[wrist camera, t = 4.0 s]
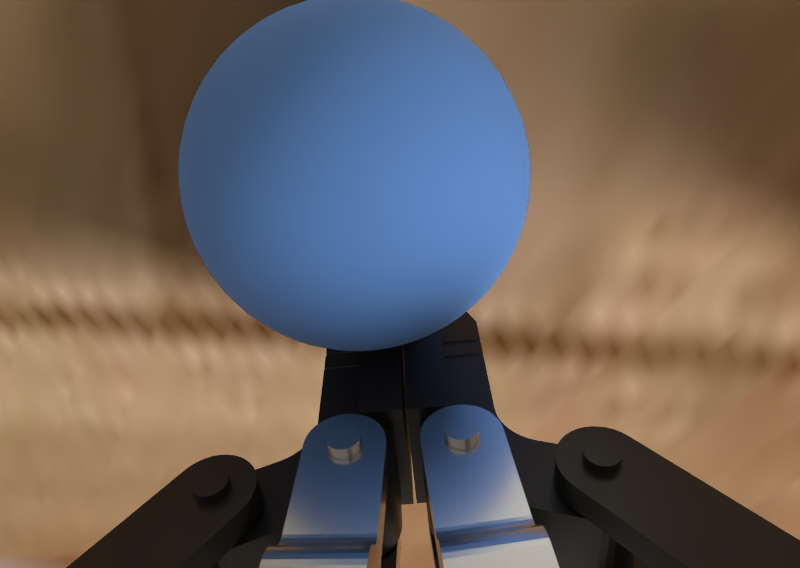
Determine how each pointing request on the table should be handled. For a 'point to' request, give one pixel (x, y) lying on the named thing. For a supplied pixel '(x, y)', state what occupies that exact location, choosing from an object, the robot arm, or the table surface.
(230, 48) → the ball
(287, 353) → the table surface
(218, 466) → the robot arm
